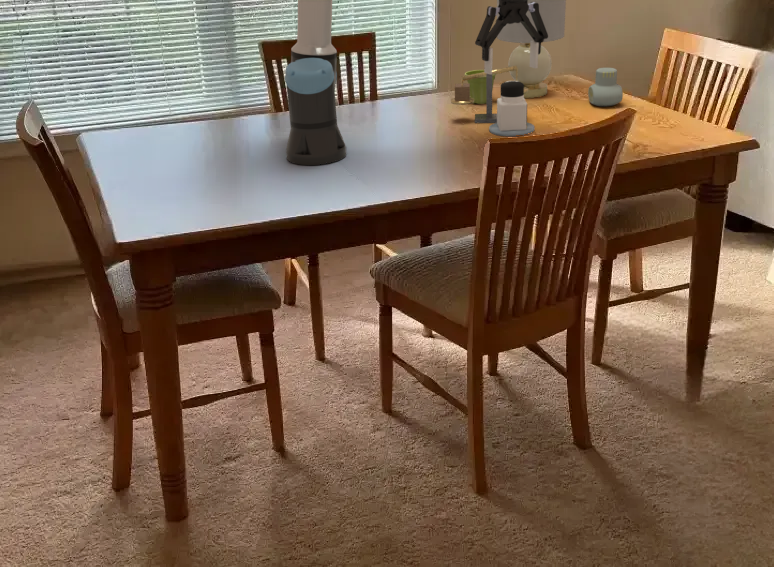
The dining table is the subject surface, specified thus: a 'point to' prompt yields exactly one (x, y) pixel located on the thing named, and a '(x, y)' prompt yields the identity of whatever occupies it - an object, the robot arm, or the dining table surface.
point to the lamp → (554, 22)
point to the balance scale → (464, 94)
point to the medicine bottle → (512, 107)
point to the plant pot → (478, 87)
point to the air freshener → (605, 88)
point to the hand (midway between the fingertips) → (511, 70)
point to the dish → (495, 130)
